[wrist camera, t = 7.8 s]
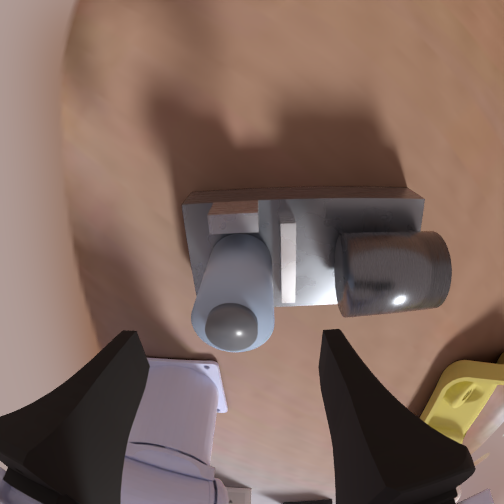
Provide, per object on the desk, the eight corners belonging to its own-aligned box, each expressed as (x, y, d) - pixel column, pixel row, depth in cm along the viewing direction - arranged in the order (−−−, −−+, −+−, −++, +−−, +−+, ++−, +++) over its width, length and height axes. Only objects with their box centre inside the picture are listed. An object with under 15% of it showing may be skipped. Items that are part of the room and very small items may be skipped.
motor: (205, 287, 22) (185, 356, 15) (191, 192, 18) (156, 237, 12) (405, 278, 21) (444, 338, 15) (419, 188, 18) (478, 228, 11)
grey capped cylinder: (219, 291, 19) (203, 364, 13) (203, 239, 17) (176, 303, 12) (276, 282, 18) (280, 356, 13) (265, 228, 17) (265, 290, 11)
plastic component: (449, 374, 23) (524, 382, 19) (447, 332, 29) (512, 342, 25) (394, 466, 31) (453, 473, 26) (402, 429, 37) (456, 436, 32)
